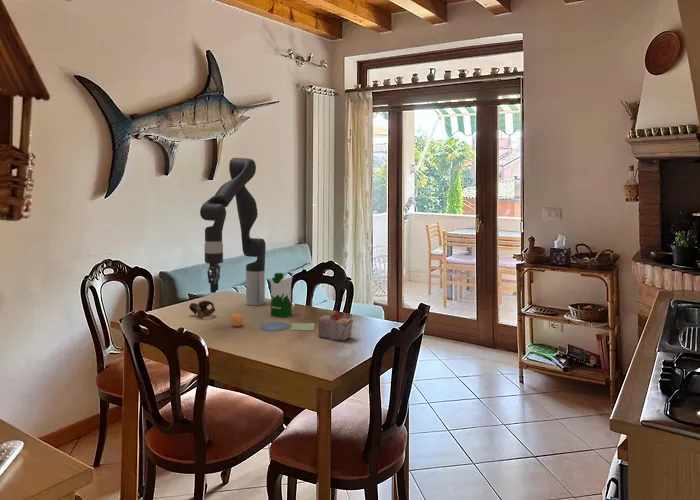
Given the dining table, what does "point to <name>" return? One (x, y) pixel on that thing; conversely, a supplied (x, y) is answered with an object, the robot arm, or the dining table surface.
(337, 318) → the food item
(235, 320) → the ball
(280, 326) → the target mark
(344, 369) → the dining table surface
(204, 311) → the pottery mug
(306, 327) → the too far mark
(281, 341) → the dining table surface
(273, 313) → the milk carton
